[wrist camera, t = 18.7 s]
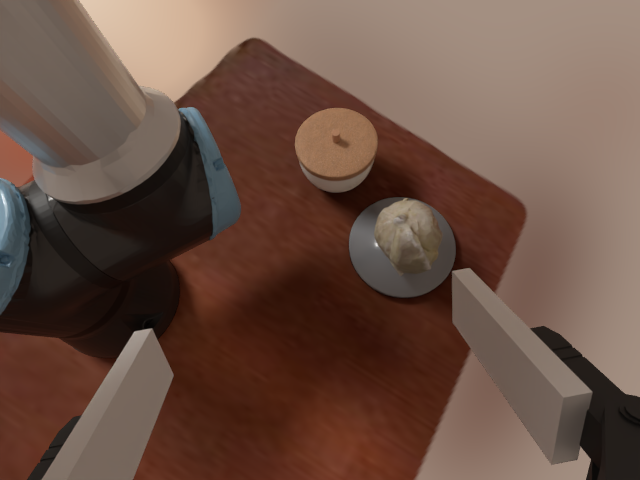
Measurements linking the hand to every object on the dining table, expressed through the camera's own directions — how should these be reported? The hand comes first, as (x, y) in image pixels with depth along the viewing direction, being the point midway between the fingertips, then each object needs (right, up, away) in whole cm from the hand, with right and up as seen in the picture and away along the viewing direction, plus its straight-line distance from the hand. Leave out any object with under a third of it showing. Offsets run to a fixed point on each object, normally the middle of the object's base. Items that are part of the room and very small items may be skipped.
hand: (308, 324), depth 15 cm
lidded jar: (+3, +14, +37) cm, 39 cm away
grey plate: (+11, +3, +32) cm, 34 cm away
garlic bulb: (+11, +3, +31) cm, 33 cm away
